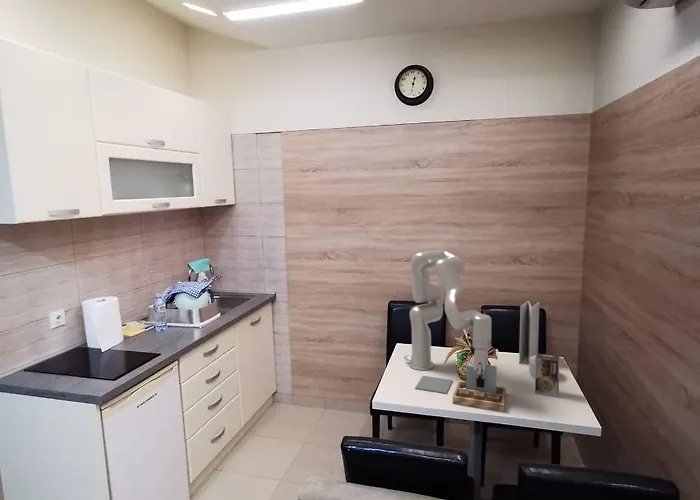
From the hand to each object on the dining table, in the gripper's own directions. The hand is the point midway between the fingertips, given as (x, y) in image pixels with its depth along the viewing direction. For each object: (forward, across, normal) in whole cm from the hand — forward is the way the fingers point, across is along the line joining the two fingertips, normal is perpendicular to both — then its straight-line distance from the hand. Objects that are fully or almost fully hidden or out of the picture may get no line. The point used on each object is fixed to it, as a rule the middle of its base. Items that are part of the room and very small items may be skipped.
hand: (481, 383), depth 182 cm
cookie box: (+5, -12, +26) cm, 29 cm away
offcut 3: (+5, +8, +6) cm, 11 cm away
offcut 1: (+5, +8, -6) cm, 11 cm away
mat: (+5, -2, -21) cm, 22 cm away
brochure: (+5, -48, +18) cm, 52 cm away
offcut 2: (+5, +8, 0) cm, 9 cm away
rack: (+5, +4, 0) cm, 7 cm away
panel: (+5, 0, 0) cm, 5 cm away
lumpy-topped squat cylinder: (+5, -30, +24) cm, 39 cm away
